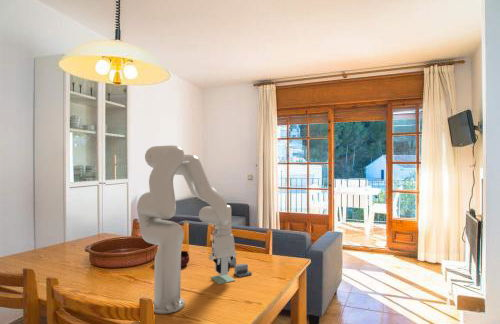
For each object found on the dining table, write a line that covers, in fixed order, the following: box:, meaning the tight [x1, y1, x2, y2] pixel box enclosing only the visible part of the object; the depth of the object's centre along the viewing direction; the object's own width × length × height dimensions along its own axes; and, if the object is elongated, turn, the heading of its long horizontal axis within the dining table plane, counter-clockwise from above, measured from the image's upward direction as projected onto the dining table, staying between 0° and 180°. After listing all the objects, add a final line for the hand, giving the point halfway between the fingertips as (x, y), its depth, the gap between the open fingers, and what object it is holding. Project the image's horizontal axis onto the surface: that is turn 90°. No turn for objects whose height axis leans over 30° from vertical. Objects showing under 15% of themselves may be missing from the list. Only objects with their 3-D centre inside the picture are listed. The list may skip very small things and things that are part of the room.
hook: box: [214, 257, 229, 276], centre depth 142 cm, size 8×4×8 cm, turn 30°
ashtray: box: [181, 250, 190, 268], centre depth 161 cm, size 18×16×5 cm
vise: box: [230, 256, 253, 278], centre depth 153 cm, size 21×7×4 cm, turn 29°
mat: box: [210, 273, 236, 285], centre depth 140 cm, size 9×8×1 cm
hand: (222, 271), depth 140 cm, fingers closed on hook, 3 cm apart
